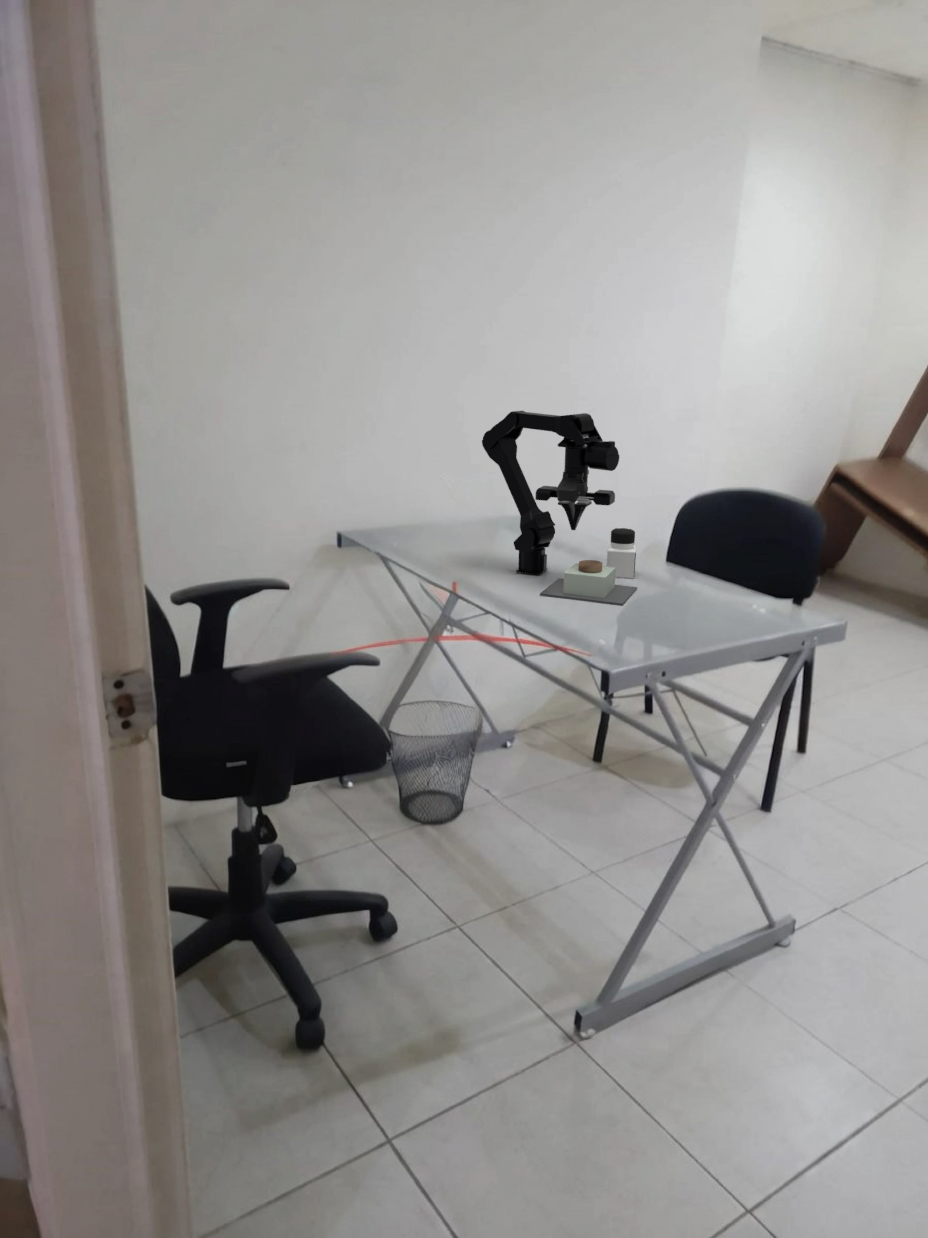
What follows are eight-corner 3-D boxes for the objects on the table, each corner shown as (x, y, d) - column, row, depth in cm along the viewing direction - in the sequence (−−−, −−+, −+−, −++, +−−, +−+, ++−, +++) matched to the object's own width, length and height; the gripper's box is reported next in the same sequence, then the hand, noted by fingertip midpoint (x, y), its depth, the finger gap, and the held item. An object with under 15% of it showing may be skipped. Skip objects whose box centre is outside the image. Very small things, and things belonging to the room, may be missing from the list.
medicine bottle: (634, 578, 220) (637, 532, 216) (605, 577, 221) (608, 531, 217) (634, 571, 226) (637, 526, 223) (607, 570, 228) (609, 525, 224)
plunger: (574, 590, 206) (575, 564, 204) (581, 584, 211) (582, 559, 209) (597, 593, 204) (599, 566, 202) (603, 587, 209) (605, 561, 207)
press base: (539, 595, 205) (540, 573, 203) (558, 580, 218) (559, 558, 216) (622, 605, 197) (624, 582, 196) (637, 589, 211) (638, 567, 209)
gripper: (529, 468, 205) (527, 532, 210) (605, 473, 198) (602, 540, 203) (543, 462, 215) (541, 524, 220) (617, 467, 208) (613, 530, 213)
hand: (573, 529), depth 214 cm, fingers closed
